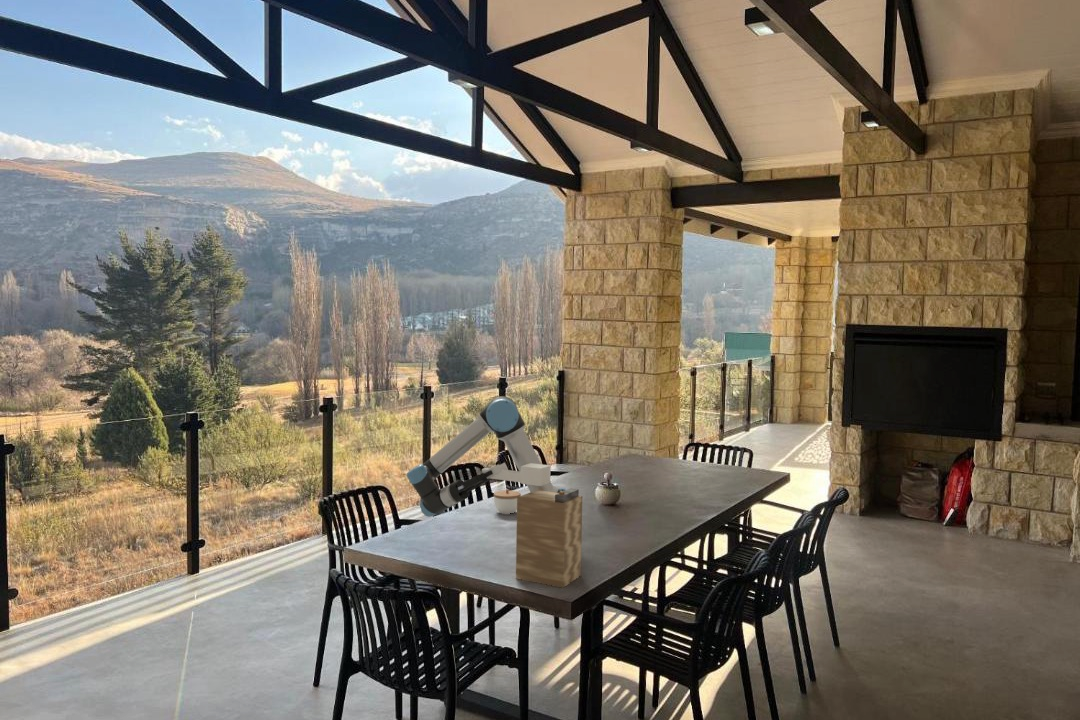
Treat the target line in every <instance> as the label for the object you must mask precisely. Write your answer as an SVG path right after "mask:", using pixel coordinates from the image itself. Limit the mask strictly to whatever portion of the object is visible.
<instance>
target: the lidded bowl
mask: <svg viewBox="0 0 1080 720" xmlns="http://www.w3.org/2000/svg"><path fill="white" fill-rule="evenodd" d="M520 496H522V493H521V492H519V491H517V490H510V489H508V488H505V490H498V491H495V492H494V493H493V504H494V507H495V509H496V510H497V511H498V512H500V513H502V514H501V515H511V514H510V513H514V512H515V513H516V512H517V497H520ZM500 513H499V514H500ZM515 513H514V514H515Z"/></svg>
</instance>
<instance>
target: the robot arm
mask: <svg viewBox="0 0 1080 720" xmlns="http://www.w3.org/2000/svg"><path fill="white" fill-rule="evenodd" d="M525 427H526V423H525V422H524V420H523V417H522V415H521V413H520V412H519V409H518V407H517V404H516V402H515V401H514V399H512V398H510V397H508V396H506V395H500V396H497V397H494V398H493V399H491V400H490V402H489V403H488V404H487V405H486V406H485V407H484V408H483V409H482V410H481V411H480V412H479V413H478V417H477V418H476V419H475V420H474V421H472V422H471V423H470V424H469V425H468V426H466V427H465V428H464V429H463V430H461V431H460V432H459V433H458V434H456V435H455V436H454V437H453V438H452V439H451V440H450V441H449V442H447V443H446V444H445V445H444V446H443V447H441V448H440V449H439V450H438V451H437V452H435V453H434V454H433V455H432V456H431V457H430V458H429V459H427V460H426V461H425V462H424V463H419V464H417V465H416V466H414V467H413V468H411V469H410V470H409V471H408V472H407V473H406V478H407V479H408V482H409V483H410V484H411V486H412V487H413V488H414V490H415V491H416V493H417V494H418V496H419V497H420V499H421V501H420V503H419V508H420V511H421V513H422V515H424V516H426V517H429V518H431V517H434V516H436V515H439V514H441V513H442V512H445V511H446V510H449V509H450V508H451V507H453V508H455V507H456V505H457V504H459V503H461V502H463V501H464V500H467V499H468V498H469V496H470V492H471V491H474V490H475V489H476V488H479V487H480V486H482V485H483V484H485V483H487V482H489V481H490V480H492V479H491V478H490V477H492V476H494V475H496V474H498V473H500V472H501V471H502V470H501V469H504V470H509V469H508V466H507V464H506V462H503V463H501V464H499V463H498V464H496V465H494V466H493V467H490V468H491V469H489V470H487V471H485V472H484V473H482V472H481V473H480V474H476V475H475V476H473V477H471V478H469V479H467V480H462V479H457V480H455V481H453V482H451V483H449V484H448V485H446V486H444V487H442V488H441V489H440V488H439V486H438V485H437V483H436V482H435V480H436V479H437V478H438V477H439V476H440V475H442V474H443V473H444V472H445V471H446V470H447V469H449V468H450V467H451V466H453V464H455V463H456V462H458V460H459V459H460V458H462V457H463V456H464V455H465V454H467V453H468V452H469V451H470V450H471V449H473V448H474V447H475V446H476V445H477V444H478V443H480V442H481V441H482V440H483V439H484V438H486V437H487V436H488V435H489V434H490V433H494V434H495V436H496V438H497V440H500V441H502V442H504V444H505V446H506V448H507V450H508V453H509V454H510V456H511V458H512V460H513V462H514V464H515V465H516V467H517V469H518V471H520V472H521V466H523V465H526V464H530V463H533V464H542V462H541V460H540V459H539V456H538V455H537V452H536V451H535V448H534V447H533V446H532V443H531V441H530V439H529V437H528V436H527V434H526V432H525ZM486 477H487V478H486ZM525 485H526V486H527V488H528V491H529V493H530V492H533V491H536V490H541V491H548V492H556V493H559V492H561V491H566V490H567V489H566V488H565V487H557V486H554V485H553V484H552V481H551V480H550V483H548V484H545V485H542V486H536V485H528V484H525Z"/></svg>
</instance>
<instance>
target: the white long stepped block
mask: <svg viewBox="0 0 1080 720" xmlns="http://www.w3.org/2000/svg"><path fill="white" fill-rule="evenodd" d="M491 468H492V467H485V468H482V469H481V473H484V472H485V471H487V470H489V469H491ZM551 469H552V468H551V465H550V464H542V463H541V464H533V463H530V464H526V465H523V466H521V472H520V471H519V470H510V469H508V470H504V469H501V470H502V471H501V472H500V473H498V474H496V475H494V476H492V477H490V478H491V480H499V481H508V482H515V483H520V484H522V485H526V484H528V485H536V486H542V485H545V484H548V483H550V481H551ZM486 478H487V477H486Z"/></svg>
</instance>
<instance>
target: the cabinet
mask: <svg viewBox="0 0 1080 720" xmlns="http://www.w3.org/2000/svg"><path fill="white" fill-rule="evenodd" d="M582 524H583V496H582V495H579V488H572V487H571V488H568V489H566V491H561V492H559V493H556V492H548V491H541V490H536V491H533V492H530V491H529V492H527V493H525V494H521V496H520V497H517V510H516V543H515V544H516V547H515V548H516V551H515V553H516V556H515V557H516V558H515V579H516V578H517V579H518V580H521V579H522V581H527V582H531V581H532V583H536V582H537V584H541V583H542V585H546V584H547V586H551V585H552V586H553V587H556V586H558V587H557V588H561V587H562V589H563V588H565V587H566V586H568V585H569V584H571V583H572V582H574V581H576V580H577V579H578V578H580V577H582V536H583V535H582V533H583V530H582V529H583V528H582V527H583V525H582ZM579 576H580V577H579ZM576 578H577V579H576ZM570 582H571V583H570Z"/></svg>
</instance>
